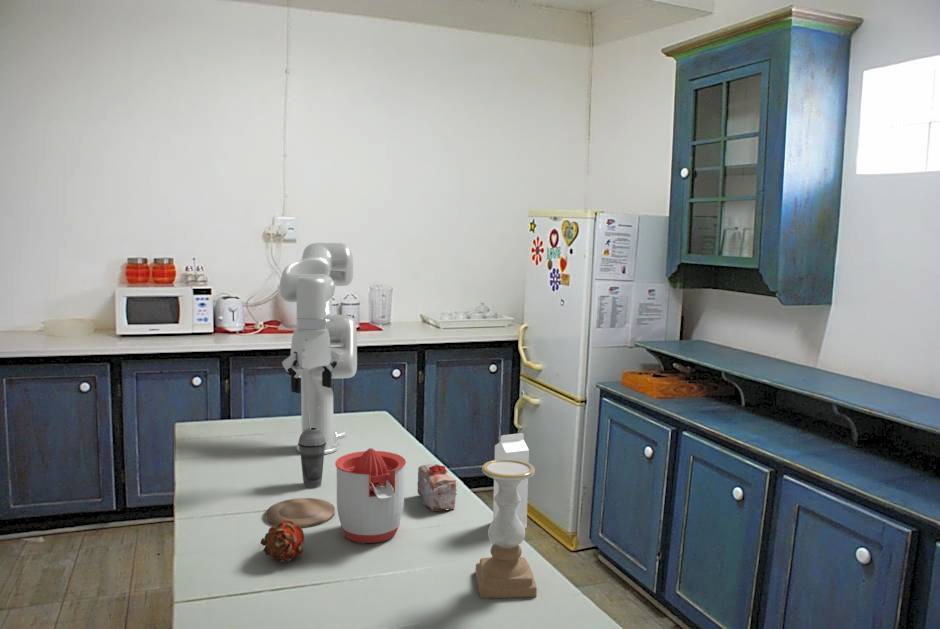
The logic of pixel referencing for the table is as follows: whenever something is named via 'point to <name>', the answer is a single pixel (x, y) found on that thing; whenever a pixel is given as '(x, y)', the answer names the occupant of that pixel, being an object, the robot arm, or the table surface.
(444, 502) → the food item
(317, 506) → the brown round plate
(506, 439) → the milk
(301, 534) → the dragon fruit
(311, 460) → the beverage cup
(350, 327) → the robot arm
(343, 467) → the citrus juicer
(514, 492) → the candle holder
